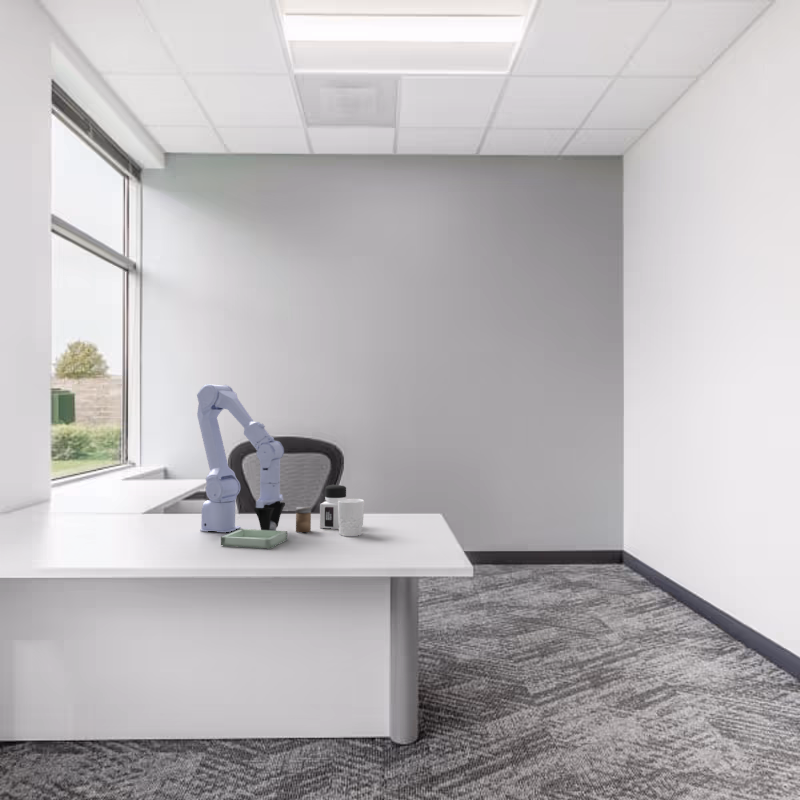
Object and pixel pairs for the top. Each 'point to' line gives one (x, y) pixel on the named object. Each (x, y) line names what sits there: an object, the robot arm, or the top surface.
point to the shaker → (303, 519)
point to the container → (331, 506)
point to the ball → (272, 526)
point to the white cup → (350, 516)
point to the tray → (254, 538)
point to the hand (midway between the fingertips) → (269, 529)
